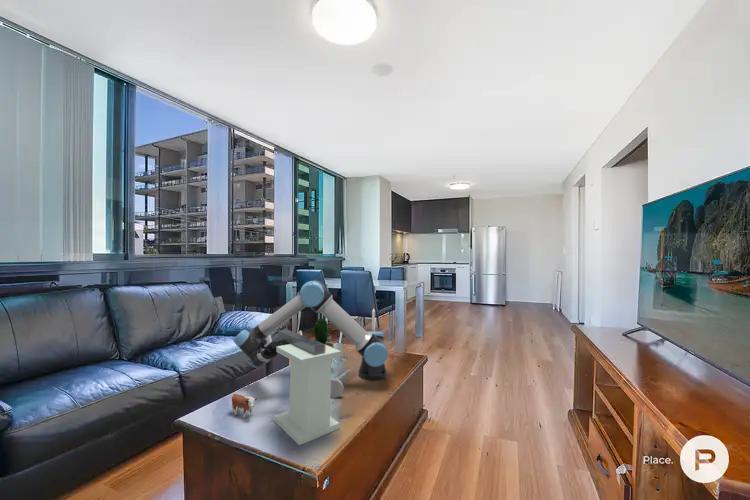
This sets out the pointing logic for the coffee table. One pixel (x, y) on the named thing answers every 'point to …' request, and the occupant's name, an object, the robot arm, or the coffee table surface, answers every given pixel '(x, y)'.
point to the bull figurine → (242, 403)
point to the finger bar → (302, 342)
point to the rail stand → (308, 394)
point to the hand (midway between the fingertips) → (286, 335)
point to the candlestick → (373, 319)
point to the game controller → (336, 388)
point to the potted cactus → (322, 332)
